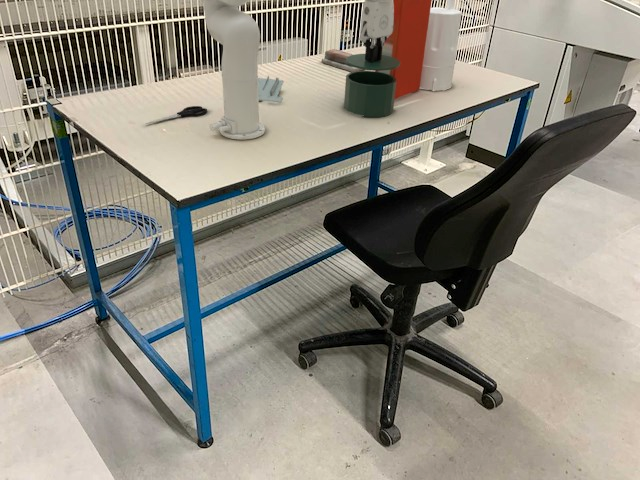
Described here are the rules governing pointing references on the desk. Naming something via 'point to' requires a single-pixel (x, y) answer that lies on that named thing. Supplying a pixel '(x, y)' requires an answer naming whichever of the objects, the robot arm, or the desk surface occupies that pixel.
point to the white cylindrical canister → (440, 47)
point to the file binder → (408, 43)
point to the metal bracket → (269, 89)
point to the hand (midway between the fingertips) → (373, 59)
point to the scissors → (186, 113)
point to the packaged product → (338, 60)
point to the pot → (370, 93)
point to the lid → (377, 65)
